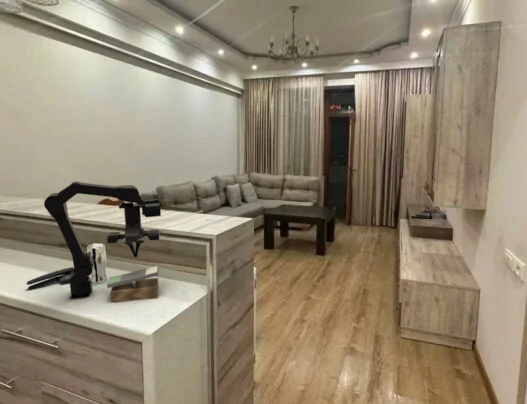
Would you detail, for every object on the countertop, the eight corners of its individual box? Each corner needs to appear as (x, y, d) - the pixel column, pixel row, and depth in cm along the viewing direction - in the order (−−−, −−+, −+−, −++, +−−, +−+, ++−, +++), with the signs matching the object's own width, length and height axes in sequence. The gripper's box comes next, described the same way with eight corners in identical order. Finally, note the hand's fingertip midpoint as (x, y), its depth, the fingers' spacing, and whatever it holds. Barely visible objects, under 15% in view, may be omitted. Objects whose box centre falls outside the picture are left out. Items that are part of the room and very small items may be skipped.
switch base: (111, 302, 128) (109, 288, 127) (115, 291, 136) (113, 278, 135) (157, 297, 132) (156, 283, 130) (158, 287, 140) (157, 273, 139)
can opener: (76, 276, 151) (74, 263, 150) (79, 281, 146) (77, 268, 145) (26, 287, 141) (24, 273, 140) (27, 293, 135) (25, 279, 134)
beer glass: (101, 284, 142) (97, 249, 139) (86, 283, 144) (82, 248, 141) (112, 277, 149) (108, 243, 146) (97, 276, 150) (93, 242, 147)
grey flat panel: (108, 290, 128) (106, 284, 127) (111, 282, 134) (110, 277, 134) (159, 277, 131) (157, 271, 131) (159, 270, 138) (158, 265, 137)
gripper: (102, 225, 126) (106, 266, 129) (157, 222, 130) (159, 262, 134) (108, 218, 137) (111, 256, 140) (158, 215, 141) (160, 252, 144)
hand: (135, 257), depth 139 cm, fingers closed
